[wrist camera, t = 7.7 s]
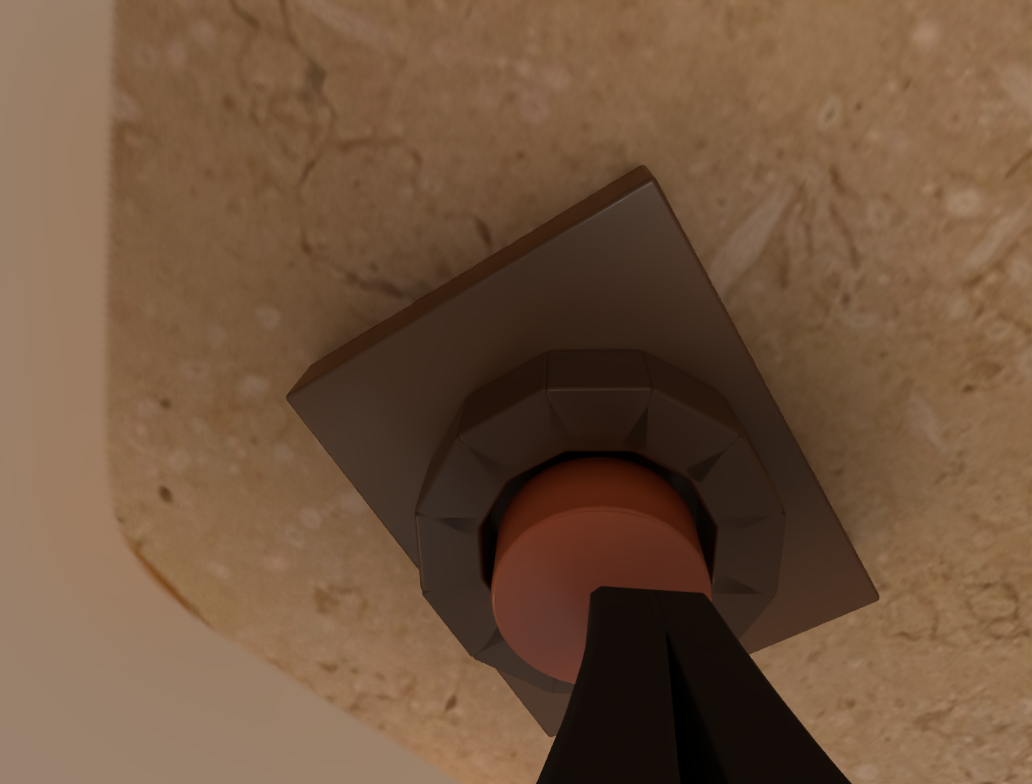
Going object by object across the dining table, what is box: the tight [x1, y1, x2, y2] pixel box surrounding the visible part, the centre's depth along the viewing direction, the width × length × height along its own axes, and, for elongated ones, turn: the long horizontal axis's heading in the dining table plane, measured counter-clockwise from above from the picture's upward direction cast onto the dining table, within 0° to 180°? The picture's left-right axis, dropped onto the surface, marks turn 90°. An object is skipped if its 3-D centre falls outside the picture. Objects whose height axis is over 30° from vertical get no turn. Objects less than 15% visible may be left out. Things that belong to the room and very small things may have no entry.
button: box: [491, 457, 712, 684], centre depth 14 cm, size 4×4×2 cm
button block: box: [286, 166, 879, 737], centre depth 16 cm, size 10×8×4 cm
